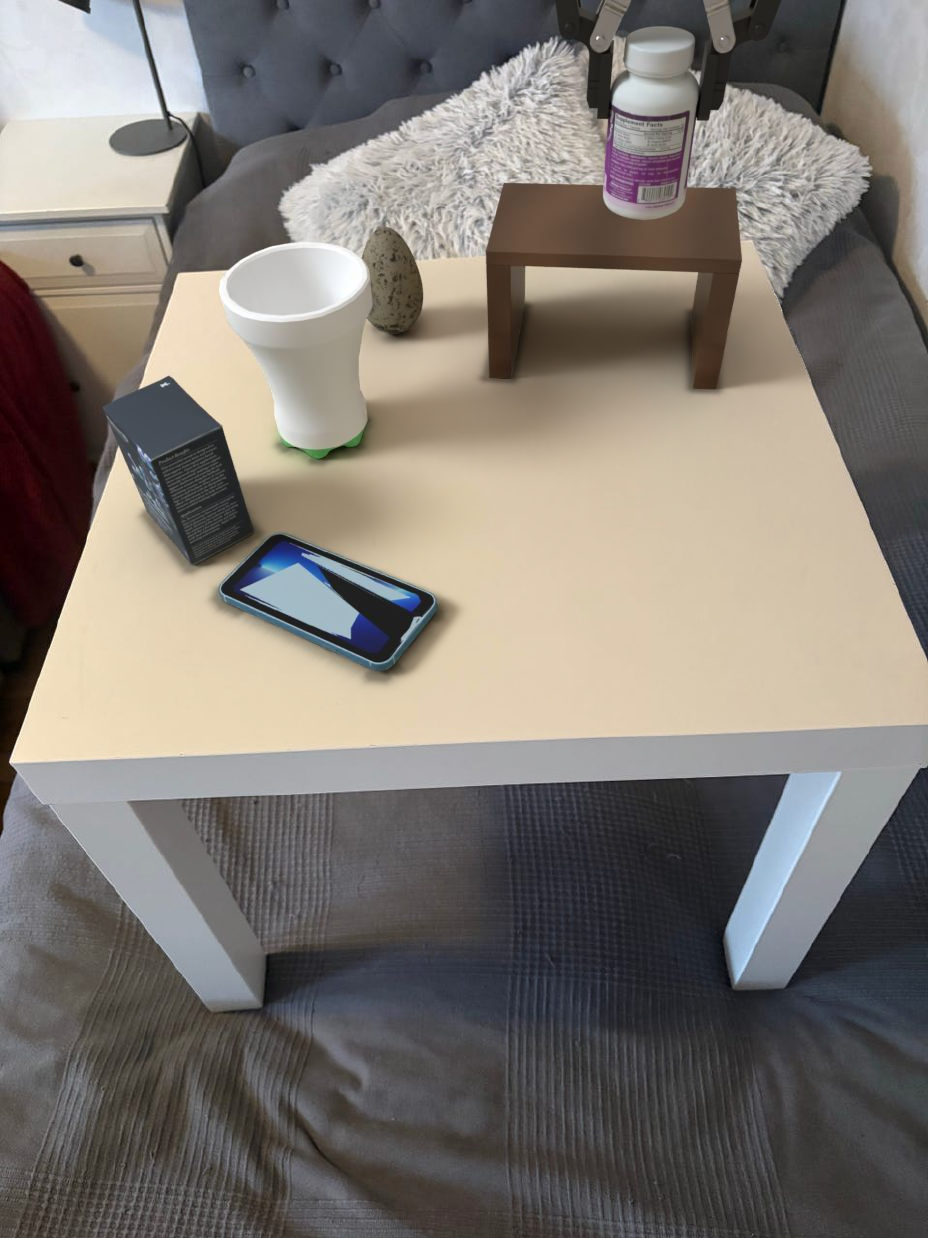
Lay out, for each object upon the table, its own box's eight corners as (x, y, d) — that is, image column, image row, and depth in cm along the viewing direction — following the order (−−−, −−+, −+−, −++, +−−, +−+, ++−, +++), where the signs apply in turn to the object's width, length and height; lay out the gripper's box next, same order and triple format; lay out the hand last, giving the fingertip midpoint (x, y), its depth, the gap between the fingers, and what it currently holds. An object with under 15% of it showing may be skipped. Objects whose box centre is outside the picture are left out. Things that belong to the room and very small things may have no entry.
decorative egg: (408, 352, 86) (397, 250, 78) (353, 339, 87) (337, 238, 80) (436, 319, 89) (429, 218, 81) (383, 307, 91) (371, 207, 83)
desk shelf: (712, 313, 88) (735, 187, 78) (716, 389, 80) (742, 259, 71) (504, 305, 90) (503, 182, 81) (488, 377, 82) (485, 250, 73)
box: (146, 514, 73) (99, 404, 65) (209, 482, 75) (172, 372, 67) (191, 568, 69) (148, 458, 60) (257, 534, 71) (223, 423, 63)
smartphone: (275, 528, 70) (442, 596, 64) (278, 537, 70) (443, 605, 65) (211, 591, 66) (383, 670, 60) (215, 600, 67) (385, 678, 61)
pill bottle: (621, 177, 63) (636, 15, 55) (695, 193, 61) (721, 27, 53) (588, 212, 60) (598, 45, 52) (665, 229, 58) (687, 59, 50)
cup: (335, 492, 73) (304, 336, 63) (232, 447, 78) (186, 294, 67) (415, 416, 79) (399, 262, 68) (315, 379, 83) (285, 227, 73)
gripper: (536, -251, 41) (530, 139, 54) (866, -262, 40) (778, 143, 53) (548, -275, 46) (539, 89, 59) (843, -285, 45) (768, 91, 58)
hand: (652, 113), depth 56 cm, fingers closed on pill bottle, 5 cm apart
